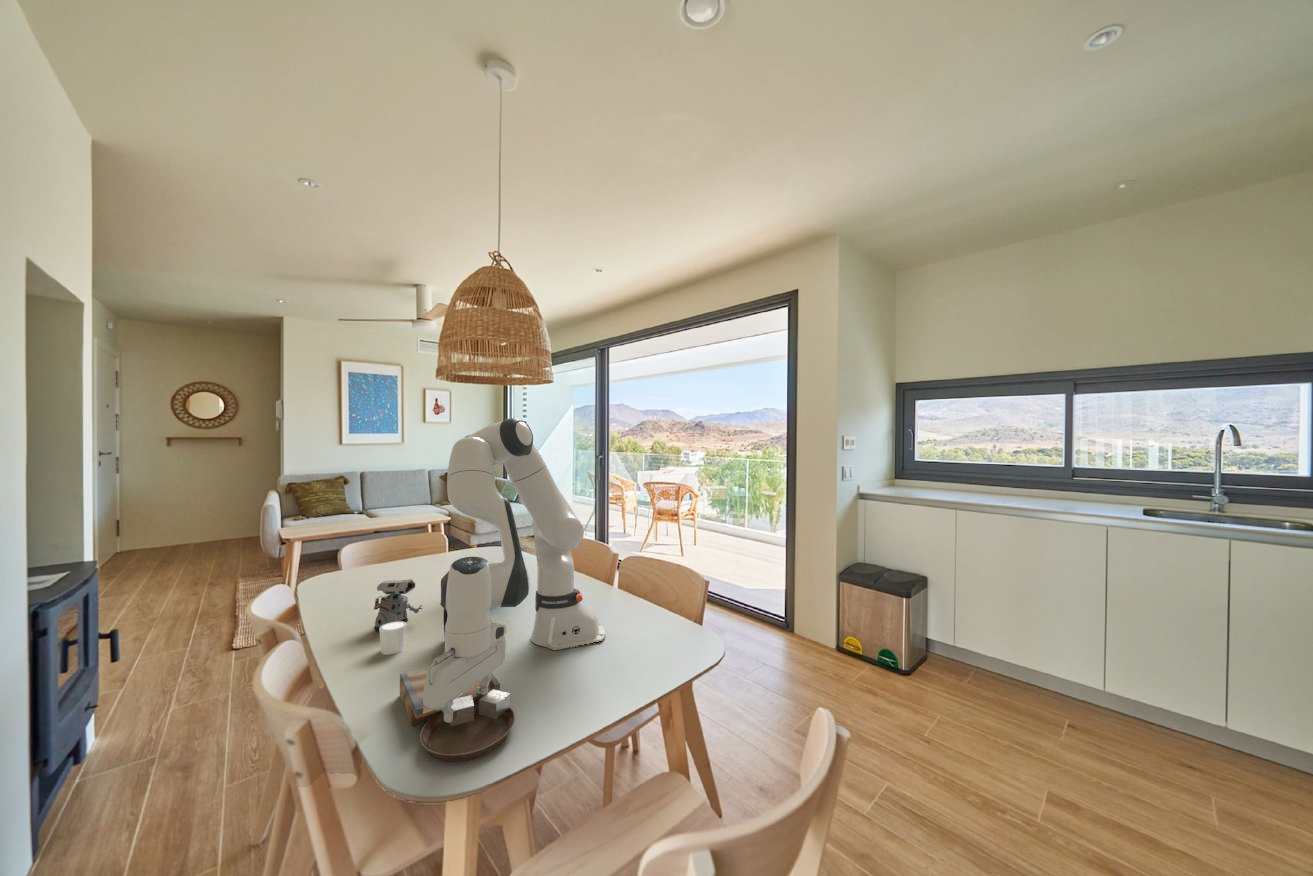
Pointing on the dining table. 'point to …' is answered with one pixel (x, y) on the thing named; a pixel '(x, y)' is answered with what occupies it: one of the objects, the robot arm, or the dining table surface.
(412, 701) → the brown and grey tray
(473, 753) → the plant saucer
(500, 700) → the silver block
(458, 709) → the off-white small block
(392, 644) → the white cylinder
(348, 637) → the dining table surface
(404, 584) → the figurine
